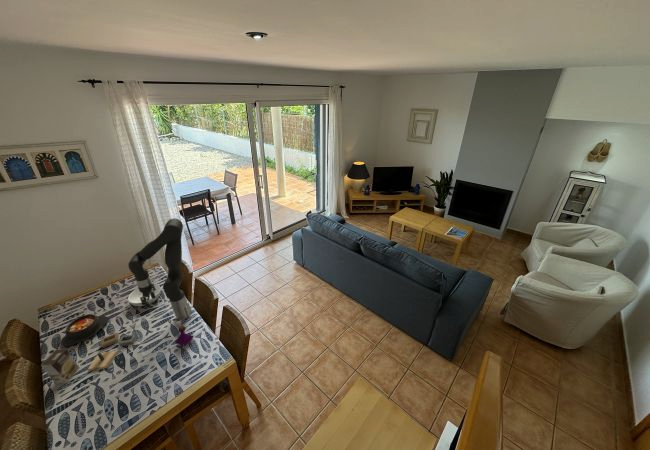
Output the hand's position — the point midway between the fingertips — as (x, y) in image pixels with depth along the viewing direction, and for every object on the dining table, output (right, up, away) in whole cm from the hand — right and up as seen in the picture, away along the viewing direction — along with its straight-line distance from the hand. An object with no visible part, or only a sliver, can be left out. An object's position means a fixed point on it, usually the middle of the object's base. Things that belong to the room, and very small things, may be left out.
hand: (151, 302), depth 170 cm
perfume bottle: (+27, -24, -7) cm, 36 cm away
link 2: (-10, -23, -6) cm, 26 cm away
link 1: (-21, -23, -6) cm, 32 cm away
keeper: (-16, -29, -18) cm, 38 cm away
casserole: (-43, -20, 0) cm, 47 cm away
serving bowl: (-20, -6, +26) cm, 34 cm away
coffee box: (-29, -34, -25) cm, 51 cm away
